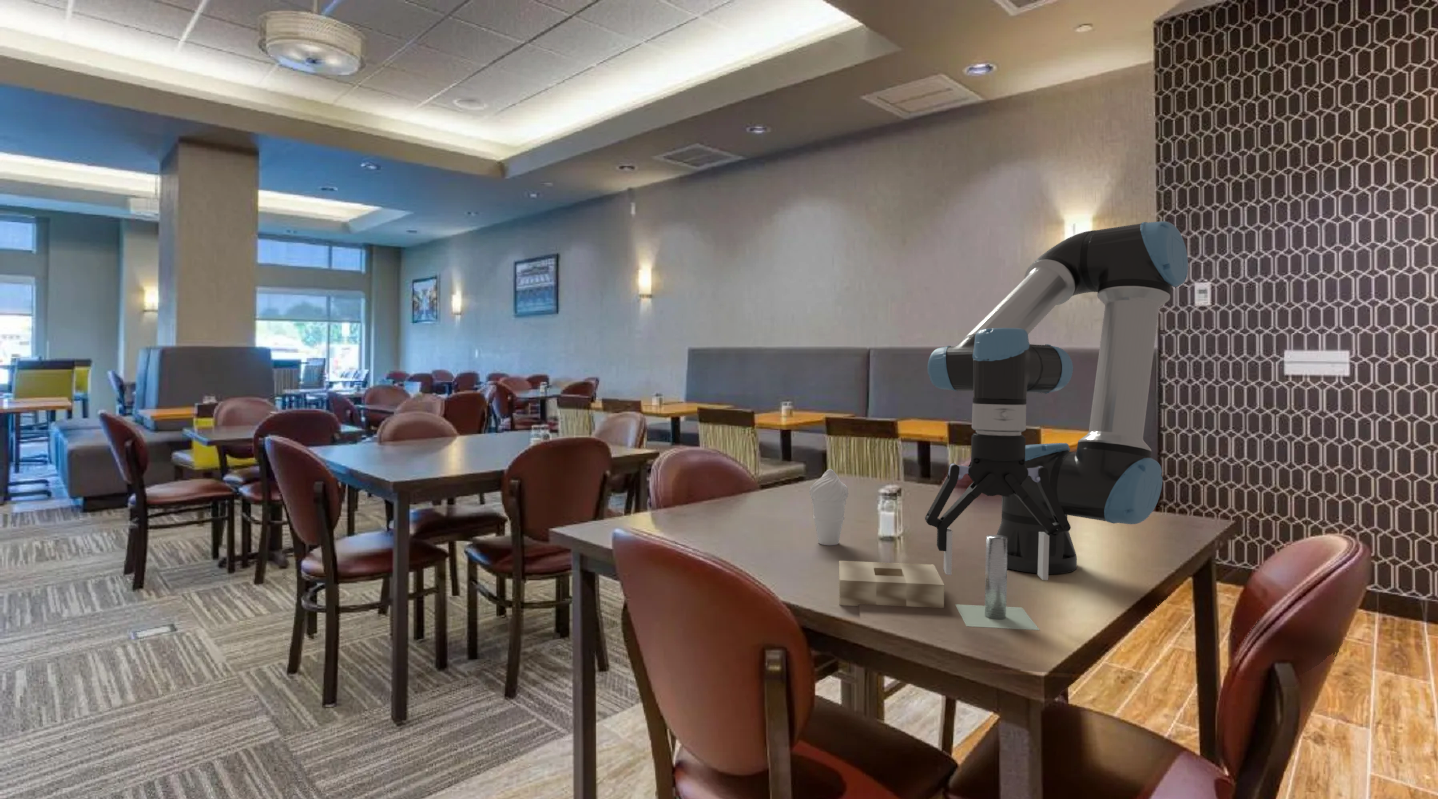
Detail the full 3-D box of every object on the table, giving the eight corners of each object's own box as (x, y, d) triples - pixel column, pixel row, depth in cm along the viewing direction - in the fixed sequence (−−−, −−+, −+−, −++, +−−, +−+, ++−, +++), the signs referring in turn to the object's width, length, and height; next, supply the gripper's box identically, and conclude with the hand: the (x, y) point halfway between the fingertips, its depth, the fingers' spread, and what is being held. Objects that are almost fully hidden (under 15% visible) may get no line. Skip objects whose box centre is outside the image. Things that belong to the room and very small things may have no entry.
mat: (1021, 610, 115) (1021, 607, 115) (1039, 632, 105) (1039, 629, 105) (955, 606, 116) (955, 604, 116) (966, 628, 107) (966, 626, 107)
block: (933, 587, 127) (933, 564, 126) (943, 610, 115) (944, 584, 115) (838, 583, 129) (839, 560, 129) (839, 605, 117) (839, 580, 117)
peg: (1003, 613, 112) (1005, 535, 112) (1008, 620, 109) (1009, 539, 109) (982, 612, 112) (984, 534, 112) (986, 619, 110) (988, 538, 109)
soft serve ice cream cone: (838, 549, 153) (838, 472, 153) (802, 544, 158) (802, 469, 157) (854, 541, 160) (854, 468, 160) (819, 536, 165) (819, 465, 164)
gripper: (914, 432, 108) (911, 577, 108) (1097, 437, 104) (1092, 586, 105) (909, 428, 115) (906, 564, 116) (1079, 433, 111) (1075, 573, 112)
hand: (994, 575), depth 110 cm, fingers open, 13 cm apart
